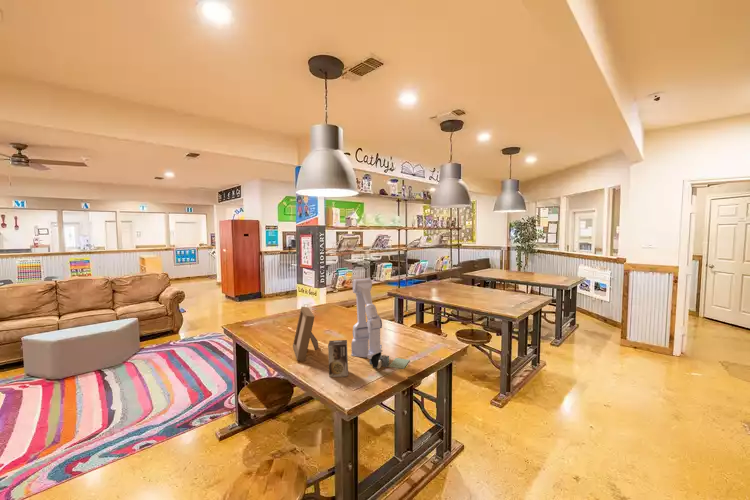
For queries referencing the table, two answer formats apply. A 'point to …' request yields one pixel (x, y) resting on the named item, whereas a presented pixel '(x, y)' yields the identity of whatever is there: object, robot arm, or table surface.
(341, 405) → the table surface
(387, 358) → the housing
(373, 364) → the robot arm
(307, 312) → the photo frame
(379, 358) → the plug
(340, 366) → the coffee box
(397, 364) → the mat
